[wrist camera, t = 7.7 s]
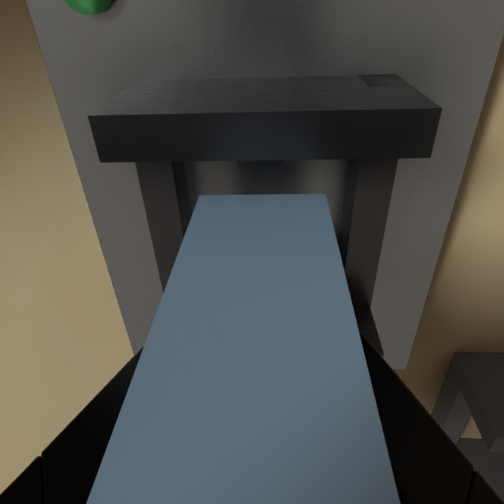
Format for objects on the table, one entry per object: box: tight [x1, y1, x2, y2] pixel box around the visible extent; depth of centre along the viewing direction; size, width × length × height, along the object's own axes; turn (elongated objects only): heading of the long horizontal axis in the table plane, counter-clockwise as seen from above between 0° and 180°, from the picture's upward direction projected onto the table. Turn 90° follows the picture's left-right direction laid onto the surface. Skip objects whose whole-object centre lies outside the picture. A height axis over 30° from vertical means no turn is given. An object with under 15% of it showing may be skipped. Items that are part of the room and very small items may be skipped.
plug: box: [86, 194, 400, 504], centre depth 7 cm, size 4×3×8 cm
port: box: [26, 0, 504, 370], centre depth 12 cm, size 16×12×4 cm
